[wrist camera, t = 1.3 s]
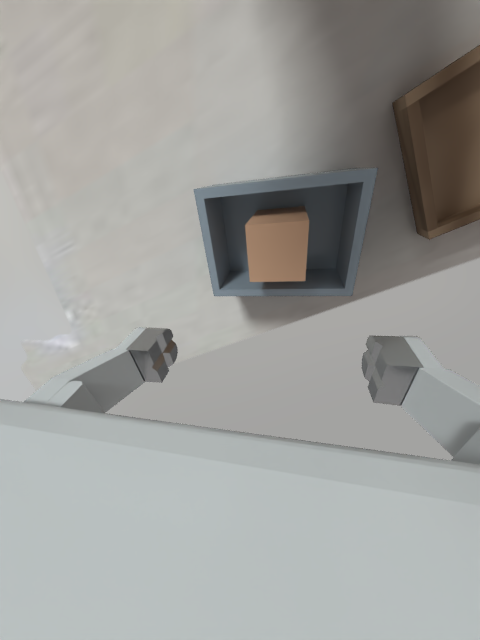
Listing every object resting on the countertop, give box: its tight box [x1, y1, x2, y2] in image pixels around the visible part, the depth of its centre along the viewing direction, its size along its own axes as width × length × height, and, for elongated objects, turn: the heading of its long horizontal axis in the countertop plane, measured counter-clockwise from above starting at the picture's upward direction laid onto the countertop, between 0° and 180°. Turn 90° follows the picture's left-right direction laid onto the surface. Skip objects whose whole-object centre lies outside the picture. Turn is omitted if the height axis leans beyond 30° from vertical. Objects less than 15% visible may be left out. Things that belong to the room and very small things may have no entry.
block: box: [245, 206, 309, 282], centre depth 22 cm, size 5×5×8 cm
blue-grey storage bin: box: [194, 168, 378, 296], centre depth 23 cm, size 11×15×6 cm
